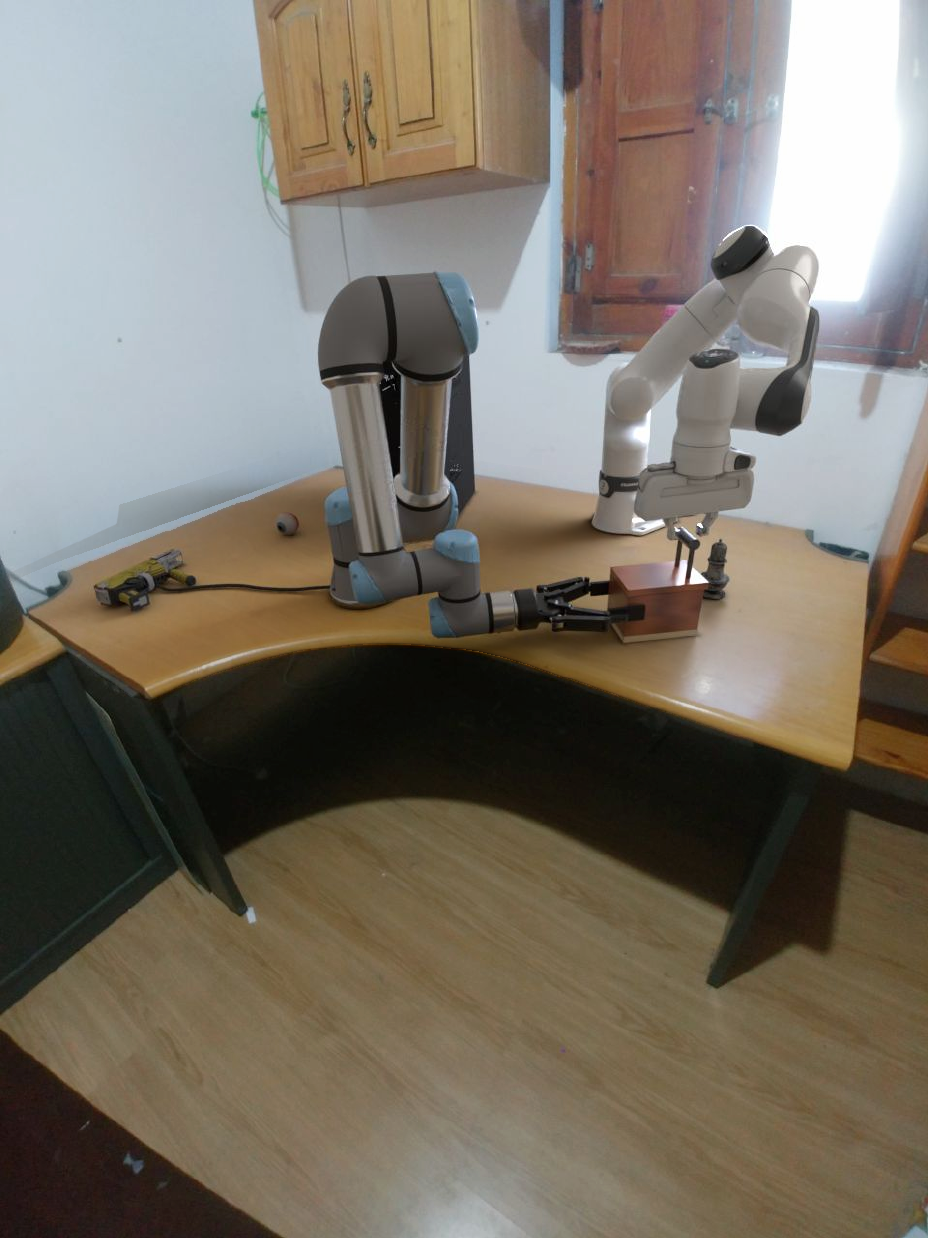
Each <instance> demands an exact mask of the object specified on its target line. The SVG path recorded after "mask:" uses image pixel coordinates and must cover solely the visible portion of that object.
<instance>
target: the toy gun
mask: <svg viewBox="0 0 928 1238" xmlns="http://www.w3.org/2000/svg"><path fill="white" fill-rule="evenodd" d="M179 557H181V560H177V558H179ZM183 564H184V558H183V552H182V551H181V550H179V549H174V548H171V549H169V550H167V551H164V552H163V553H161V554H159V555H156V556H155V557H150V558H148V559H146V560H144V561H142V562H139V563H138V564H135V565H133V566H131V567H129V568H127V569H125V570H122V571H120V572H118V573H116V574H113V575H112V576H110V577H108V578H106V579H104V580H101V581H99V582H97V583H95V584H93V590H94V594H95V598H96V600H97V603H99V604H100V605H101V606H105V607H107V606H117V605H121V604H127V605H128V606H129V607H130V611H131V612H136V611H138V610H141V609H143V608H145V607H147V606H148V607H149V606H150V599H149V595H148V593H149V592H151V591H154V590H155V588H154V587H155V585H154V584H158V585H160V584H161V583H164V582H165V581H168V579H171V580H174V581H177V582H178V583H182V584H183V585H184V584H185V585H186V586H187V587H192V586H196V584H197V578H196V576H194V575H192V574H188V573H186V572H184V571H180V570H179V569H176V568H177V567H180V565H183Z"/></svg>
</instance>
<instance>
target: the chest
mask: <svg viewBox="0 0 928 1238" xmlns="http://www.w3.org/2000/svg"><path fill="white" fill-rule="evenodd" d="M608 580H609V593H608V595H607V606H606V607H607V608H606V611H608V608H616V607H626V606H636V605H645V606H646V608H645V617H644V620H639V621H629V622H622V623H612V624H610V625H611V626H612V628H613V629H614V631H615V633H616V634H617V636H618V638H619V639H620V640H621V642H622V644H627V643H637V642H645V641H647V642H648V641H654V640H655V641H656V640H666V639H674V638H675V639H677V638H684V637H693V636H697V635H698V627H699V623H700V622H699V621H700V616H701V611H702V610H701V609H702V604H703V598H704V597H703V593H704V589H702V590H692V591H682V592H672V593H662V594H651V595H641V596H631V597H628V596H627V595H626V594H625V592H624V591H623V590H622V588H621V587H620V586H619V584H618V583H617V582H616V580H615V579H614V578H613V576H612V575H611V574H610V573H609V579H608Z"/></svg>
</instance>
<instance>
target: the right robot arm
mask: <svg viewBox="0 0 928 1238" xmlns="http://www.w3.org/2000/svg"><path fill="white" fill-rule="evenodd" d="M819 263H820V262H819V259H818V257H817V254H816V252H815V251H814V250H813V249H811V248H810V247H809V246H807V245H804V244H800V243H794V244H793V243H791V244H787V245H785V246H782V247H780V248H778V247H777V246H776V245H775V243H773V241H771V240H770V237H769V236H768V234H767V233H766V232H765V231H763V230H762V229H761V228H759V227H758V226H756V225H754V224H745V225H742V226H740V227H739V228H737V229H736V230H734V231H732V232H730V233H729V234H728V235H727V236H726V237H724V239H723V240H721V242H720V243H719V245H718V246H717V248H716V249H715V251H714V253H713V254H712V256H711V261H710V264H709V266H710V268H711V269H710V270H711V272H712V274H713V276H714V279H712V280H711V281H709V282H708V283H707V284H705V285H704V286H703V287H702V288H701V289H699V290H698V291H697V292H696V293H695V294H693V296H692V297H690V298H689V299H688V300H687V301H686V302H685V303H684V304H683V305H681V307H680V308H678V309H677V311H676V312H675V313H674V314H673V315H671V317H669V319H668V320H666V321H665V323H664V324H662V326H661V327H660V328H659V329H658V330H656V331H655V333H653V335H652V336H651V337H650V339H649V340H648V341H647V342H646V343H645V344H644V345H643V347H642V348H641V349H640V350H639V351H638V352H637V354H636V355H635V356H634V357H633V358H632V359H631V360H630V361H629V362H628V361H627V362H624V363H622V364H620V365H618V366H617V367H616V368H614V369H613V371H611V372H610V374H609V376H608V378H607V382H606V388H605V405H604V421H603V435H602V436H603V438H602V453H601V468H600V470H599V474H598V492H599V493H598V498H597V502H596V507H595V511H594V514H593V517H592V520H591V525H592V526H593V527H594V528H595V529H597V530H599V531H601V532H605V533H611V534H623V535H625V534H626V535H632V536H633V535H634V536H645V535H646V534H650V533H652V532H654V531H657V530H660V529H662V528H665V527H666V529H667V531H666V538H667V540H669V541H672V542H673V541H678V540H679V538H680V537H679V535H680V530H678V528H677V527H675V525H674V524H675V523H677V522H678V518H679V517H680V518H682V517H687V516H688V517H690V516H696V515H702V514H703V515H705V516H704V517H703V519H702V521H701V523H697V524H696V526H695V528H696V529H695V534H696V535H697V536H698V537H705V536H706V537H707V536H709V534H710V529H711V527H712V525H713V524H714V523H715V521H716V520H717V518H718V517H719V512H726V511H733V510H741V509H745V508H746V507H748V505H749V504H750V502H752V501H751V500H752V496H753V491H754V483H755V473H754V471H753V470H752V469H753V468H754V467H755V466H756V463H757V457H756V456H755V455H753V454H751V453H749V452H748V451H745V450H744V449H743V450H742V449H740V448H737V447H734V446H731V442H732V435H731V430H735V431H736V430H737V431H738V430H739V431H745V432H756V433H757V432H758V433H760V434H764V435H765V434H766V435H772V436H775V437H782V436H784V435H787V434H788V433H790V432H792V431H794V430H795V429H796V428H798V427H799V426H801V425H802V424H803V422H804V421H805V420H804V419H805V418H806V417H807V415H808V412H809V410H810V405H811V401H812V400H811V399H812V384H811V383H812V382H811V381H812V374H813V370H814V363H815V357H816V352H817V345H818V339H819V331H820V313H819V310H818V309H817V308H815V307H813V306H811V305H810V303H811V300H812V297H813V294H814V292H815V288H816V285H817V280H818V276H819V270H820V269H819V268H820V264H819ZM736 324H738V327H739V330H740V331H741V333H742V334H743V336H744V337H745V338H746V339H747V340H748V341H749V342H751V343H752V344H754V345H756V346H758V347H761V348H767V349H772V350H776V351H779V352H782V353H784V354H786V355H787V360H786V363H785V365H784V366H780V367H774V368H773V367H772V368H769V367H768V368H766V367H746V366H745V367H744V366H743V367H741V358H740V355H739V353H737V352H736V351H734V350H731V349H728V348H727V349H726V348H712V347H714V345H716V343H718V342H719V341H720V340H721V339H722V338H723V337H724V336H725V335H726V334H727V333H728V332H729V331H730V330H731V328H732V327H734V325H736ZM680 378H681V381H680V385H679V389H678V390H679V391H678V395H677V402H676V409H675V415H676V429H675V430H674V434H673V437H672V442H671V451H670V460H669V461H667V462H661V463H651V464H648V458H649V457H648V456H649V446H650V435H651V433H650V432H651V431H650V430H651V416H652V415H651V414H652V408H654V407H655V406H656V404H658V403H659V402H660V400H662V398H663V397H664V396H665V395H666V394H667V393H668V392H669V391H670V389H672V387H674V385H675V384H676V383H677V382H678V381H679V380H680Z"/></svg>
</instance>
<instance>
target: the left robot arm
mask: <svg viewBox="0 0 928 1238" xmlns="http://www.w3.org/2000/svg"><path fill="white" fill-rule="evenodd" d="M474 299H475V298H474V296H473V292H472V289H471V288H470V285H469V283H468V282H467V280H466V279H465V277H464V276H463V275H461V273H459V272H453V271H452V272H450V271H449V272H439V271H437V270H433V271H432V272H423V273H408V274H407V273H406V274H404V273H403V274H391V275H390V274H389V275H365V276H362V277H358V278H356V279H353V280H352V281H350V282H349V283H347V284H346V285H345V286H344V287H343V288H342V289H341V290H340V291H339V292H338V293H337V294H336V295H335V297H334V298H333V300H332V301H331V303H330V305H329V307H328V309H327V311H326V313H325V315H324V318H323V321H322V323H321V328H320V331H319V332H320V333H319V338H318V343H317V365H318V371H319V372H318V373H319V379H320V382H321V385H323V386H324V387H325V388H326V389H327V390H328V391H329V395H330V400H331V406H332V412H333V417H334V418H333V419H334V422H335V423H334V424H335V429H336V435H337V441H338V445H339V452H340V458H341V462H342V469H343V474H344V480H345V484H346V485H345V486H342V487H340V488H338V489H335V490H334V491H332V492H331V493H330V494H329V495H328V496H327V497H326V499H325V500H324V515H325V518H324V522H325V524H326V525H327V530H328V531H327V532H328V537H329V543H330V550H331V555H332V560H333V567H332V574H331V579H330V584H325V585H312V586H302V587H301V586H300V587H275V586H273V587H272V586H260V585H253V584H245V583H215V584H199V585H193V586H185V587H166V586H164V585H161V584H154V585H155V587H154V589H160V590H161V591H164V592H170V593H172V592H173V593H176V592H177V593H179V592H186V591H187V592H188V591H194V590H204V589H205V590H206V589H218V588H245V589H251V590H257V591H258V590H259V591H267V592H268V591H271V592H305V591H317V590H329V594H330V599H331V601H332V602H333V604H334V605H337V606H339V607H342V608H346V609H351V610H364V609H365V610H366V609H373V608H377V607H380V606H383V605H387V604H388V603H391V602H392V601H397V600H402V599H406V598H411V597H416V596H422V595H423V596H424V595H428V594H433V593H434V594H435V593H437V595H438V596H435V597H431V598H430V599H428V602H427V605H428V615H429V617H428V618H429V626H430V632H431V635H432V636H433V638H435V639H458V638H463V637H472V636H478V635H486V634H487V635H491V634H501V633H510V632H514V631H515V629H516V630H517V631H519V632H520V631H521V632H522V631H531V630H537V629H538V627H539V625H540V624H541V623H546V624H550V627H551V629H550V630H551V632H553V633H559V632H565V631H566V632H589V633H590V632H592V633H609V631H610V625H611V624H612V623H622V622H629V621H639V620H644V617H645V608H646V606H645V605H636V606H626V607H616V608H608V611H607V610H601V609H595V608H589V607H588V608H587V607H581V606H575V605H573V604H572V603H571V602H573V601H576V600H577V599H580V598H582V597H584V596H587V595H589V596H590V597H599V596H608V593H609V580H610V579H608V580H598V581H591V578H590V577H589V576H584V577H583V576H576V577H573V578H569V579H565V580H559V581H556V582H552V583H547V584H536V586H535V590H534V589H533V588H532V587H530V588H522V589H521V588H519V589H514V591H512V592H511V590H509V589H507V590H498V591H490V592H482V591H481V557H480V547H479V540H478V538H477V536H476V535H475V534H474V533H472V531H469V530H465V529H458V528H457V529H455V528H456V526H457V523H458V519H459V516H458V509H457V506H458V499H457V494H456V490H455V488H454V486H453V484H452V483H451V482H450V481H449V480H448V478H447V477H446V476H445V475H444V467H445V455H446V443H447V431H448V419H449V407H450V395H451V384H452V379H453V378H454V377H456V376H457V375H458V374H459V373H460V371H461V369H462V363H463V355H467V356H469V357H470V355H472V354H474V353H476V351H477V349H478V348H479V347H478V346H479V341H480V340H479V339H480V333H479V331H480V330H479V321H478V320H479V319H478V312H477V308H476V303H475V300H474ZM390 361H392V365H393V367H394V369H395V370H396V371H397V372H398V373H399V374H400V375H401V449H400V472H399V473H398V474H397V475H396V476H395V478H394V480H393V473H392V467H391V460H390V453H389V447H388V440H387V434H386V427H385V421H384V414H383V407H382V401H381V394H380V388H379V385H380V384H381V383H380V382H381V381H382V379H383V378H384V370H383V362H390ZM428 540H433V547H429V548H422V549H417V550H411V551H405V547H404V544H408V543H415V542H422V541H428Z"/></svg>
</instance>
